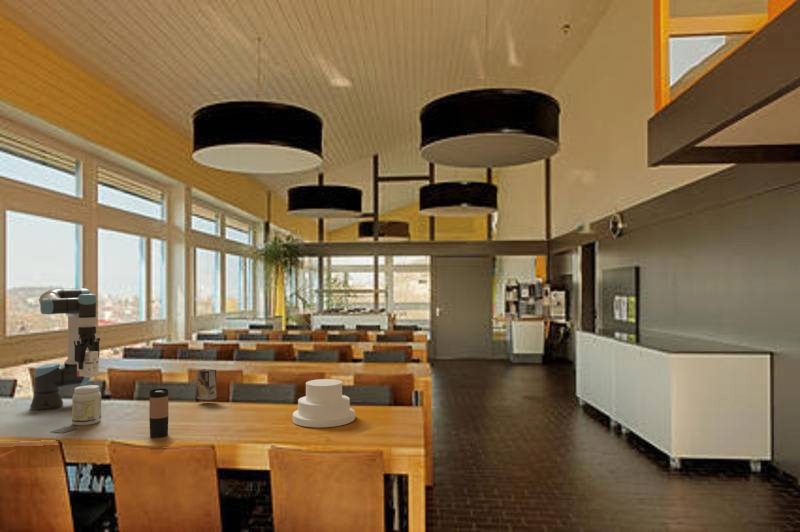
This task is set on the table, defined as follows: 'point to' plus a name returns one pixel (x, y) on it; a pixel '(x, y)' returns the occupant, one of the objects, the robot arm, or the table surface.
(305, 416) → the cake
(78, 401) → the supplement tub
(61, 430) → the charcoal rubber mat
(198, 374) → the coffee box
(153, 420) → the travel mug
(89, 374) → the ink box
